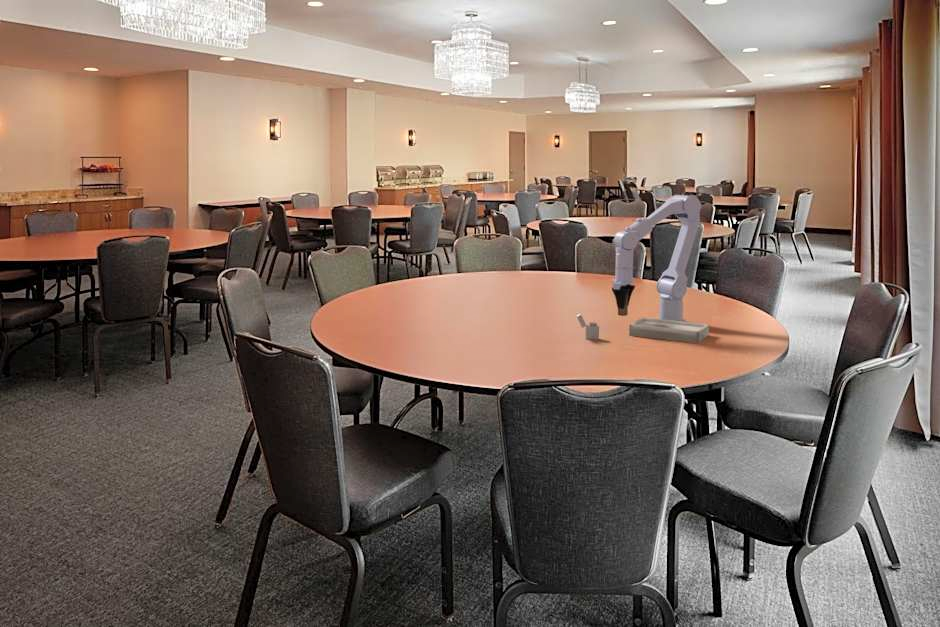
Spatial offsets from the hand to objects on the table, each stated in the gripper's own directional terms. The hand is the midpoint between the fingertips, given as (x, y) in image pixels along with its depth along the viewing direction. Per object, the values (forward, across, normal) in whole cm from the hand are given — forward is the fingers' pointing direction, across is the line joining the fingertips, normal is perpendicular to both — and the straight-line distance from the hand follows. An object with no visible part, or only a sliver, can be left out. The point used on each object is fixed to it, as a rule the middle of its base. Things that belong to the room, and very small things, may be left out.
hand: (622, 307), depth 243 cm
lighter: (+7, +21, -4) cm, 23 cm away
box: (+7, +4, +17) cm, 19 cm away
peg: (+2, 0, 0) cm, 2 cm away
